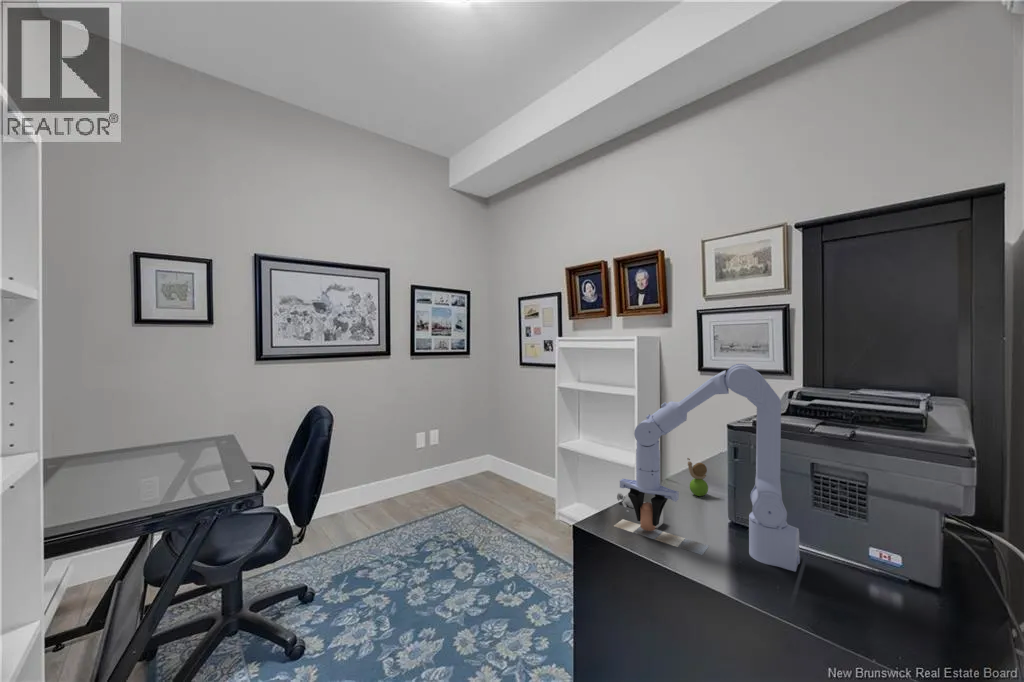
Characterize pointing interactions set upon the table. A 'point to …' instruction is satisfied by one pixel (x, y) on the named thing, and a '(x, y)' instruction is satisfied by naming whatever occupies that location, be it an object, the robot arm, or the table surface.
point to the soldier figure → (625, 500)
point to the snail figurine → (698, 479)
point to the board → (663, 537)
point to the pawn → (646, 517)
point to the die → (660, 520)
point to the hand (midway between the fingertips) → (648, 522)
